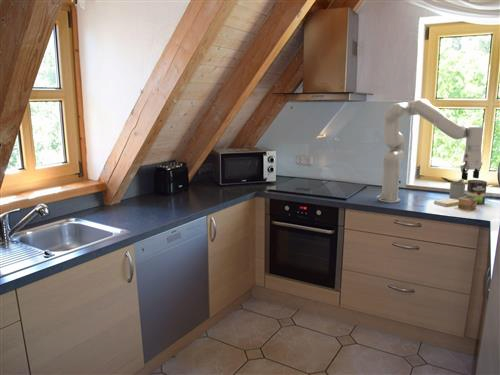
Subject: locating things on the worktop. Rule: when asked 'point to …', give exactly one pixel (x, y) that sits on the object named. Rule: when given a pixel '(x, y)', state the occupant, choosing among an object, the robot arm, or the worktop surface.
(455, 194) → the cup
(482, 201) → the coffee can
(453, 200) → the block
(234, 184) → the worktop surface
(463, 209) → the pallet
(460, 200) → the crate
